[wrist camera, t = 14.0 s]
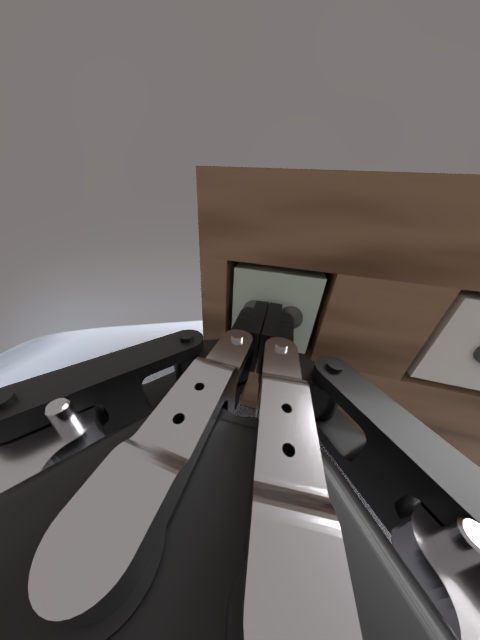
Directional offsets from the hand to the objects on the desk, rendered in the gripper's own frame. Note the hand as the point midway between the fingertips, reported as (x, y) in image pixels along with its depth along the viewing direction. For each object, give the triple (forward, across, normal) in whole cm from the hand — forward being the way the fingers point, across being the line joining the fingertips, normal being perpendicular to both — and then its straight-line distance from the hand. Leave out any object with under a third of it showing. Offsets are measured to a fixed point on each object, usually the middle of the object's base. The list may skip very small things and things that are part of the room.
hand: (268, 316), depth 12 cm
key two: (+3, 0, -2) cm, 4 cm away
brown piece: (+5, +6, -9) cm, 12 cm away
